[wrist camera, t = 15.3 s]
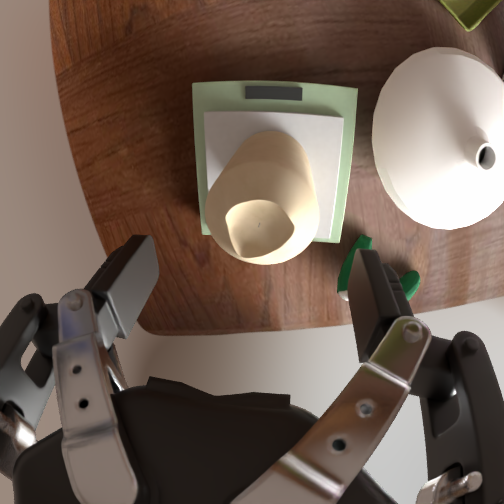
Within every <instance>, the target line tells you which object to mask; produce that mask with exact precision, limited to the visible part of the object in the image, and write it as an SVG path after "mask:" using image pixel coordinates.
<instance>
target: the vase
mask: <svg viewBox="0 0 504 504" xmlns="http://www.w3.org/2000/svg"><path fill="white" fill-rule="evenodd" d="M372 146H373V152H374V159H375V165H376V169H377V171H378V174H379V176H380V178H381V181H382V183H383V186H384V188H385V190H386V192H387V193H388V194H389V196H390V197H391V198H392V200H393V201H394V203H395V204H396V205H397V207H398V208H399V209H400V210H402V211H403V212H404V213H406V214H407V215H408V216H409V217H411V218H412V219H413V220H414V221H416V222H419V223H422V224H424V225H427V226H429V227H432V228H441V229H455V228H460V227H464V226H469V225H471V224H473V223H475V222H477V221H479V220H481V219H483V218H485V217H487V216H488V215H489V214H490V213H492V212H493V211H494V210H495V209H496V208H497V207H498V206H499V205H500V204H501V203H502V202H503V200H504V82H503V81H502V80H501V78H500V77H499V76H498V75H497V73H496V72H495V71H494V70H493V69H492V68H491V67H490V66H489V65H487V64H486V63H485V62H483V61H482V60H481V59H479V58H478V57H477V56H475V55H473V54H470V53H468V52H465V51H462V50H460V49H457V48H447V47H433V48H430V49H427V50H424V51H421V52H418V53H415V54H413V55H411V56H410V57H409V58H408V59H406V60H405V61H404V62H403V63H401V64H400V65H399V66H398V67H396V68H395V69H394V71H393V73H392V74H391V76H390V77H389V79H388V80H387V82H386V83H385V85H384V86H383V88H382V89H381V92H380V96H379V99H378V102H377V105H376V108H375V111H374V114H373V129H372Z"/></svg>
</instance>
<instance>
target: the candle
mask: <svg viewBox="0 0 504 504" xmlns="http://www.w3.org/2000/svg"><path fill="white" fill-rule="evenodd" d="M205 218H206V223H207V226H208V229H209V231H210V233H211V235H212V237H213V238H214V240H215V241H216V242H217V243H218V244H219V246H220V247H222V248H223V249H224V250H225V251H226V252H228V253H229V254H231V255H232V256H234V257H236V258H238V259H240V260H243V261H246V262H249V263H254V264H275V263H280V262H283V261H286V260H289V259H291V258H293V257H295V256H296V255H298V254H299V253H301V252H302V251H303V250H304V249H305V248H306V247H307V246H308V245H309V244H310V242H311V241H312V239H313V237H314V235H315V233H316V231H317V227H318V223H319V208H318V202H317V197H316V192H315V187H314V182H313V178H312V173H311V168H310V164H309V160H308V157H307V154H306V152H305V150H304V149H303V147H302V146H301V145H300V143H299V142H298V141H296V140H295V139H294V138H292V137H291V136H289V135H287V134H285V133H282V132H277V131H264V132H260V133H257V134H254V135H252V136H251V137H249V138H248V139H246V140H245V141H244V142H243V143H242V144H241V146H240V147H239V148H238V149H237V151H236V152H235V154H234V155H233V156H232V158H231V159H230V161H229V162H228V163H227V165H226V166H225V168H224V169H223V171H222V172H221V173H220V175H219V176H218V178H217V179H216V181H215V182H214V184H213V185H212V187H211V189H210V190H209V193H208V195H207V199H206V203H205Z"/></svg>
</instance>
